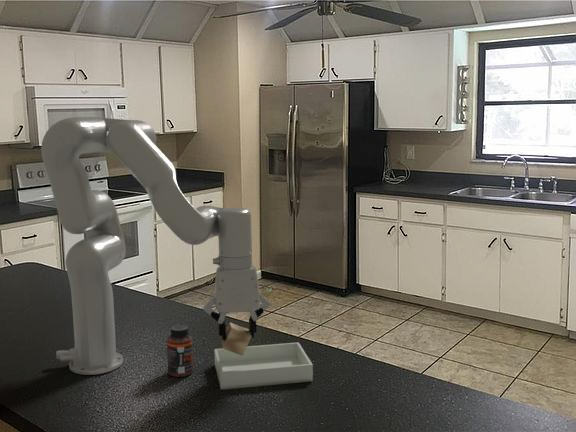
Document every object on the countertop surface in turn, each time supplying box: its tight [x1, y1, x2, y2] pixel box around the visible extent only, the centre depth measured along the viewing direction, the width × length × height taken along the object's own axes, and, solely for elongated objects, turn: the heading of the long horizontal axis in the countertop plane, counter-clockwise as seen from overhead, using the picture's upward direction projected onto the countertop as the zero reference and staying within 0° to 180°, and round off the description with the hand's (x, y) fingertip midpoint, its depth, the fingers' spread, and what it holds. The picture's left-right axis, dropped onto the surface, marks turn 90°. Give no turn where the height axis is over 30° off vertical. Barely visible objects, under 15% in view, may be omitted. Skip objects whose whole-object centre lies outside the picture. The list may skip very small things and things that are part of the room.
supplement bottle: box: [166, 324, 194, 378], centre depth 146 cm, size 6×6×11 cm
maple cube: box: [221, 322, 252, 356], centre depth 144 cm, size 5×5×5 cm
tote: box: [214, 342, 314, 391], centre depth 147 cm, size 21×14×4 cm
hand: (237, 336), depth 144 cm, fingers closed on maple cube, 5 cm apart
